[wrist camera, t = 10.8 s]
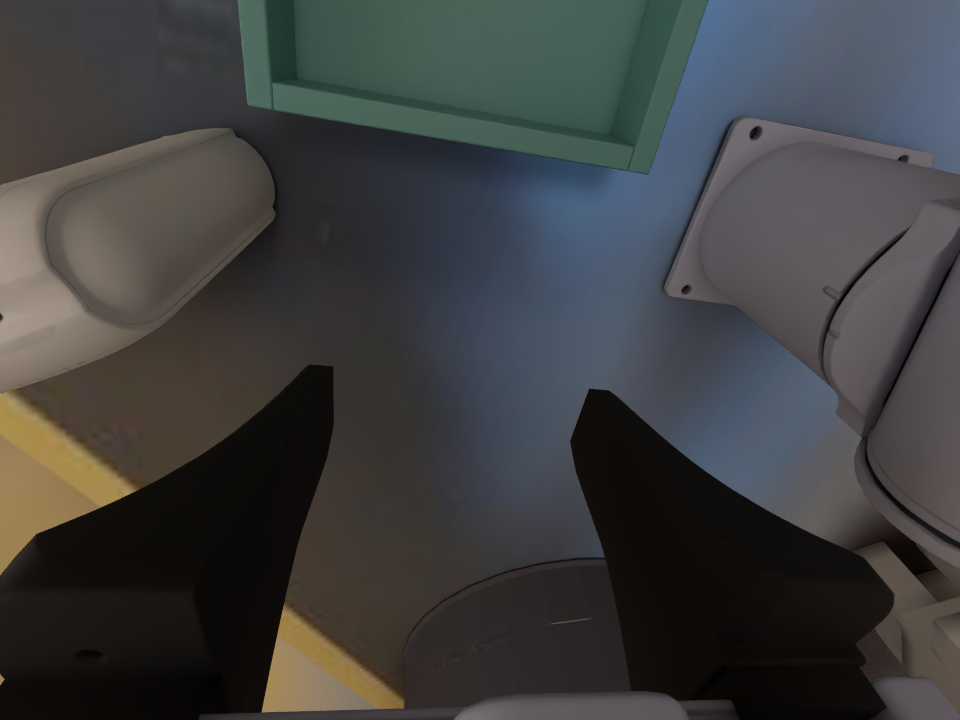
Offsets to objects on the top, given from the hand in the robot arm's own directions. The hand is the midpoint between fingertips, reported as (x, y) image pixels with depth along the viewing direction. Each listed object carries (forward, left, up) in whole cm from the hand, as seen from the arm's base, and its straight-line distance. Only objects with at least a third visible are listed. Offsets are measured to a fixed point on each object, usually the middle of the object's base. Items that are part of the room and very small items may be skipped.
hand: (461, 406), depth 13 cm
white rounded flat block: (+13, -1, -11) cm, 17 cm away
